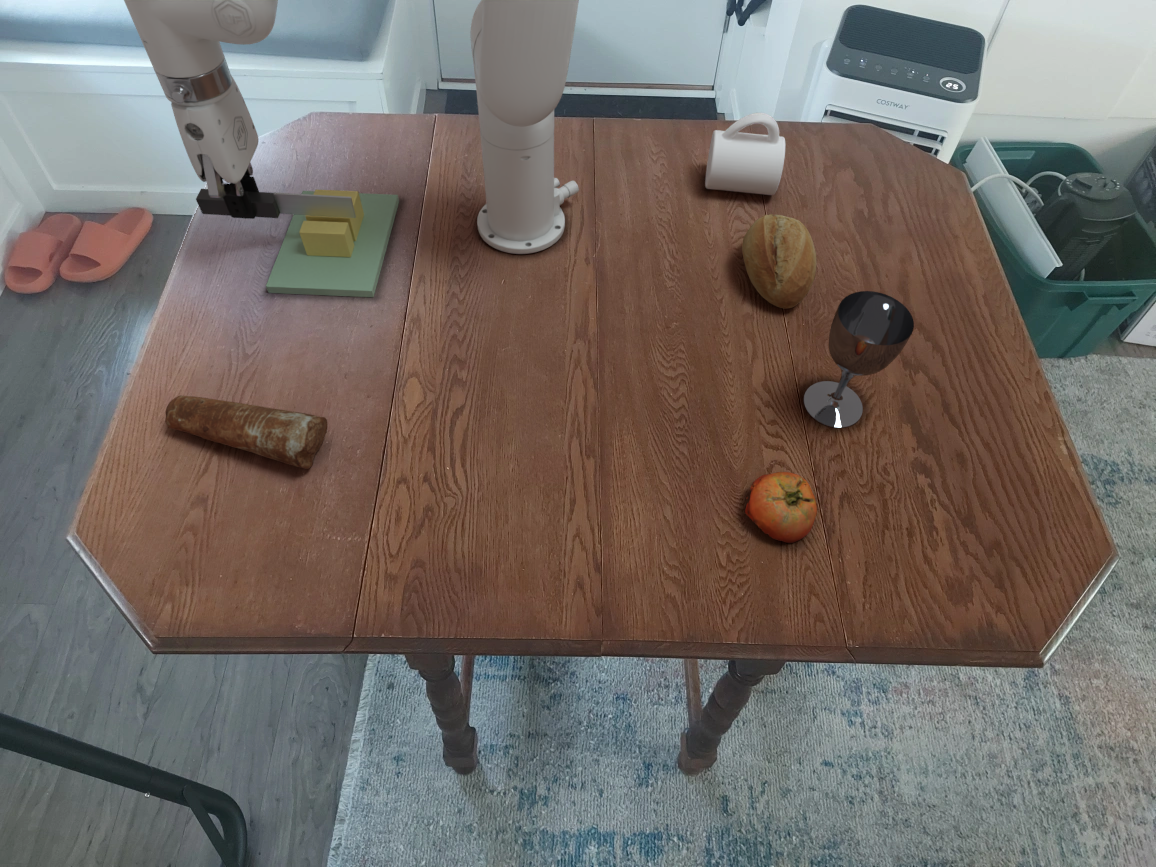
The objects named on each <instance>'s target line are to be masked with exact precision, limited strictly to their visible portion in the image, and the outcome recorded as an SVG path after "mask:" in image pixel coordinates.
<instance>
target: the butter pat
mask: <svg viewBox="0 0 1156 867" xmlns="http://www.w3.org/2000/svg"><path fill="white" fill-rule="evenodd" d="M299 233H300V236H301V239H302V242H303V245H304V248H305V250H306V253H307V255H308V256H332V257H351V256H352V252H353V249H354V242H353V238H352V235H351V231H350V228H349V224H348V223H347V222H323V221H303V223H302V226H301V229H300V232H299Z"/></svg>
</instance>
